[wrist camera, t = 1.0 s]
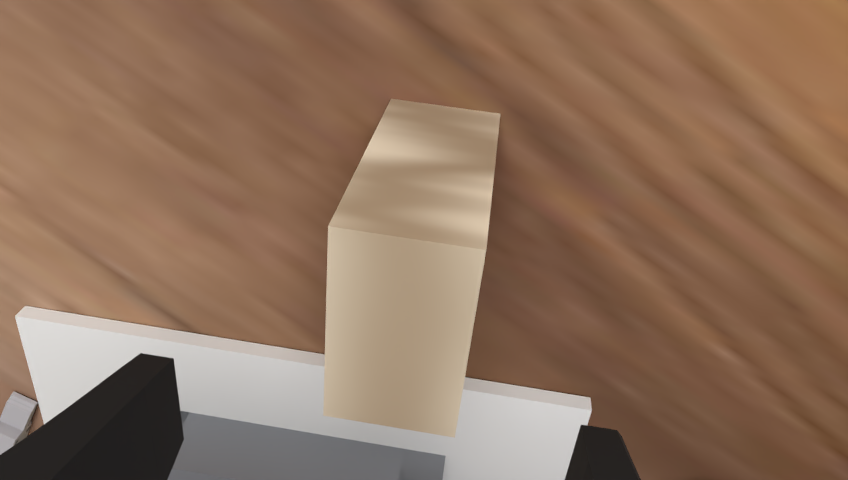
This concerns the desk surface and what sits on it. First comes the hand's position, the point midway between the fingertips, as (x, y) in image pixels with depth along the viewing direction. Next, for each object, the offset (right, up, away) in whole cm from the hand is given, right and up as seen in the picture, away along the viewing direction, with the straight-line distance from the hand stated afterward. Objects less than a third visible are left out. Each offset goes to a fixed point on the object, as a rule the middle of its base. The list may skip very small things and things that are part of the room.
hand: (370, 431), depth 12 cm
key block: (+1, +5, +8) cm, 10 cm away
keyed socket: (-4, -6, +16) cm, 17 cm away
